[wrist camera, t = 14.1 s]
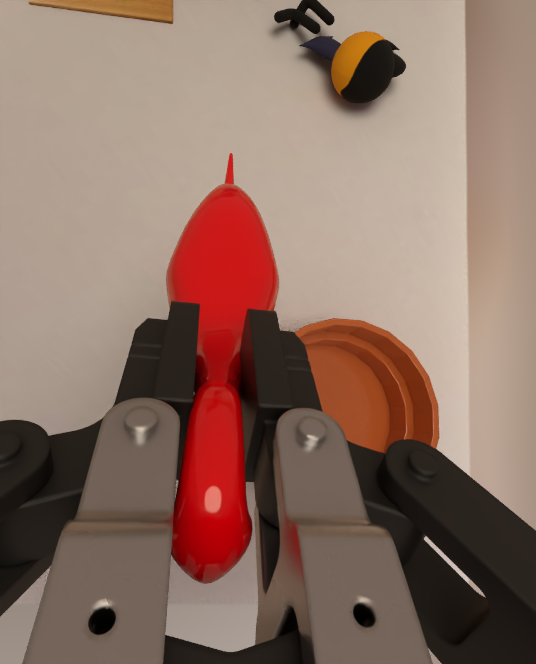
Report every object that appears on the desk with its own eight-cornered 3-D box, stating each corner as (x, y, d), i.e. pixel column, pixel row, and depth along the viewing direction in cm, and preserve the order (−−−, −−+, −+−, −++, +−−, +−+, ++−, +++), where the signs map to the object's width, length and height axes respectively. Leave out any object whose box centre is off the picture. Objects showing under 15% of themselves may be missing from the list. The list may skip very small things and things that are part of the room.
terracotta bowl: (337, 541, 34) (370, 568, 29) (201, 431, 34) (206, 436, 28) (427, 402, 38) (471, 400, 32) (305, 300, 37) (328, 280, 32)
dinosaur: (270, 160, 21) (346, -171, 9) (257, 479, 18) (339, 600, 6) (190, 151, 21) (158, -209, 9) (163, 477, 18) (59, 603, 6)
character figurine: (263, 63, 43) (359, 121, 39) (273, -4, 38) (382, 54, 35) (324, 44, 48) (413, 94, 45) (339, -17, 44) (439, 33, 40)
